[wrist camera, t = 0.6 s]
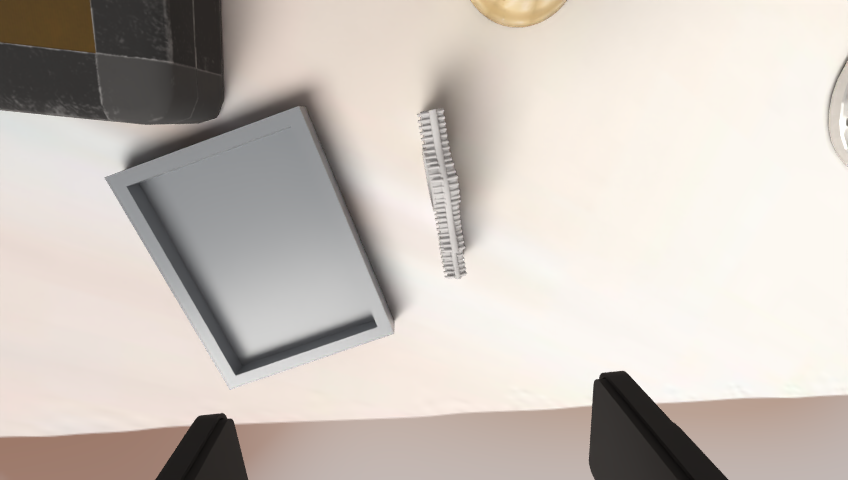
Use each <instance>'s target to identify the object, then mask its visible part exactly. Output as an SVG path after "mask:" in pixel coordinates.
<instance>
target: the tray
mask: <svg viewBox="0 0 848 480" xmlns="http://www.w3.org/2000/svg"><path fill="white" fill-rule="evenodd" d="M105 179H106V181H107V182H108V184H109V186H110V188H111V189H112V191H113V193H114V194H115V196H116V198H117V199H118V201H119V203H120V204H121V206H122V208H123V210H124V211H125V213H126V215H127V216H128V218H129V220H130V221H131V223H132V225H133V227H134V228H135V230H136V232H137V233H138V235H139V237H140V238H141V240H142V242H143V243H144V245H145V247H146V249H147V250H148V252H149V254H150V255H151V257H152V259H153V260H154V262H155V264H156V266H157V267H158V269H159V271H160V272H161V274H162V276H163V277H164V279H165V281H166V282H167V284H168V286H169V288H170V289H171V291H172V293H173V294H174V296H175V298H176V299H177V301H178V303H179V305H180V306H181V308H182V310H183V311H184V313H185V315H186V316H187V318H188V320H189V321H190V323H191V325H192V327H193V328H194V330H195V332H196V333H197V335H198V337H199V338H200V340H201V342H202V344H203V345H204V347H205V349H206V350H207V352H208V354H209V355H210V357H211V359H212V360H213V362H214V364H215V366H216V367H217V369H218V371H219V372H220V374H221V376H222V377H223V379H224V381H225V383H226V384H227V386H228V388H229V389H230V390H231V389H234V388H237V387H239V386H242V385H245V384H248V383H251V382H254V381H257V380H260V379H263V378H266V377H269V376H272V375H275V374H277V373H280V372H283V371H286V370H289V369H292V368H295V367H298V366H301V365H304V364H307V363H310V362H313V361H316V360H318V359H321V358H324V357H327V356H330V355H333V354H336V353H339V352H342V351H345V350H348V349H351V348H354V347H357V346H359V345H362V344H365V343H368V342H371V341H374V340H377V339H380V338H383V337H386V336H389V335H392V334H394V319H393V317H392V314H391V312H390V310H389V307H388V305H387V302H386V300H385V297H384V295H383V293H382V290H381V288H380V285H379V283H378V281H377V278H376V276H375V273H374V271H373V269H372V266H371V264H370V261H369V259H368V256H367V254H366V252H365V249H364V247H363V244H362V242H361V240H360V237H359V235H358V232H357V230H356V228H355V225H354V223H353V220H352V218H351V215H350V213H349V211H348V208H347V206H346V203H345V201H344V199H343V196H342V194H341V191H340V189H339V187H338V184H337V182H336V179H335V177H334V174H333V172H332V170H331V167H330V165H329V162H328V160H327V158H326V155H325V153H324V150H323V148H322V146H321V143H320V141H319V138H318V136H317V133H316V131H315V129H314V126H313V124H312V121H311V119H310V117H309V114H308V112H307V109H306V107H304V106H297V107H294V108H291V109H289V110H286V111H283V112H281V113H278V114H275V115H273V116H270V117H267V118H264V119H262V120H259V121H256V122H254V123H251V124H248V125H245V126H243V127H240V128H237V129H235V130H232V131H229V132H226V133H224V134H221V135H218V136H216V137H213V138H210V139H208V140H205V141H202V142H199V143H197V144H194V145H191V146H189V147H186V148H183V149H180V150H178V151H175V152H172V153H170V154H167V155H164V156H161V157H159V158H156V159H153V160H151V161H148V162H145V163H142V164H140V165H137V166H134V167H132V168H129V169H126V170H124V171H121V172H118V173H115V174H113V175H110V176H107V177H105Z"/></svg>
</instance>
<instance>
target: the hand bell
mask: <svg viewBox="0 0 848 480" xmlns="http://www.w3.org/2000/svg"><path fill="white" fill-rule="evenodd" d="M566 1H567V0H471V2H472V3H473V4H474V6H475V7H476V8H477V9H478V10H479V11H480V12H481V13H482V14H483V15H484V16H486V17H487V18H489V19H490V20H492V21H494V22H496V23H498V24H501V25H504V26H509V27H526V26H531V25H534V24H537V23H540V22H542V21H544V20H546V19H547V18H549V17H551V16H552V15H553V14H554V13H556V12H557V11H558V10H559V9H560V8H561V7H562V6H563V5H564V3H565V2H566Z"/></svg>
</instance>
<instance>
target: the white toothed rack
mask: <svg viewBox="0 0 848 480" xmlns="http://www.w3.org/2000/svg"><path fill="white" fill-rule="evenodd" d="M443 112H444V109H442V108H439V109H433V110H428V111H423V112H420V114H417V117H420V116H421V117H420V120H418V123H421V126H419V129H422V132H420V135H423V138H421V141H424V143H425V144H423V145H422V147H425V148H423V149H422V151H423V160H424V166H425V172H426V178H427V183H428V189H429V194H430V198H431V203H432V207H433V211H434V212H435V211H436V212H437V214H435V216H437V218H435V221H438V223H436V226H439V228H437V231H440V233H438V236H439V242H440V243H439V246H440V250H441V253H440V254H441V255H442V257H441V259H443V262H442V264H443V265H444V266H443V268H445V271H444V273H447V275H448V276H445V278H448V279H450V278H455V279H460V278H461V277H462V276H465V275H466V274H467V273H466V272H465V270H466V267H465V266H464V265H465V262H464V258H463V255H464V254H463V253H462V251H463V249H464V248H465V245H464V240H463V234H462V230H461V226H462V225H461V224H460V222H461V219H460V218H459V217H460V214H459V212H460V210H459V209H458V207H459V204H458V202H461V200H460V199H458V198H459V197H461V196H460V194H459V192H460V189H459V188H458V185H459V182H458V181H457V178H458V175H456V170H454V167H453V165H454V162H453V163H452V158H451V152H450V151H449V149H450V146H448V143H449V141H448V140H447V136H448V135H447V133H446V130H447V128H446V127H445V125H446V122H444V119H445V116H444V115H443Z"/></svg>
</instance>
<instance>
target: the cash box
mask: <svg viewBox="0 0 848 480" xmlns="http://www.w3.org/2000/svg"><path fill="white" fill-rule="evenodd" d="M222 103H223V72H222V44H221V16H220V0H0V110H4V111H14V112H24V113H34V114H44V115H54V116H64V117H74V118H84V119H94V120H104V121H114V122H125V123H135V124H145V125H151V124H192V123H201V122H204V121H208V120H211V119H214V118H216V117H217V116H218V113H219V111H220V108H221V106H222Z"/></svg>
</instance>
